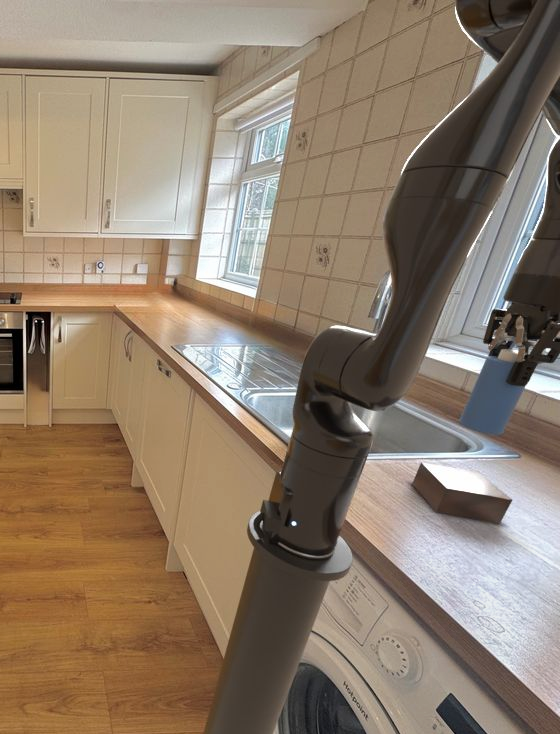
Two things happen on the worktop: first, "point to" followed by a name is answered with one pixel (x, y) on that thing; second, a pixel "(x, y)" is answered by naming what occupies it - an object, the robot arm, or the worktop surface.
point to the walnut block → (461, 493)
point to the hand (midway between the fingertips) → (502, 378)
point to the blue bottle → (492, 396)
